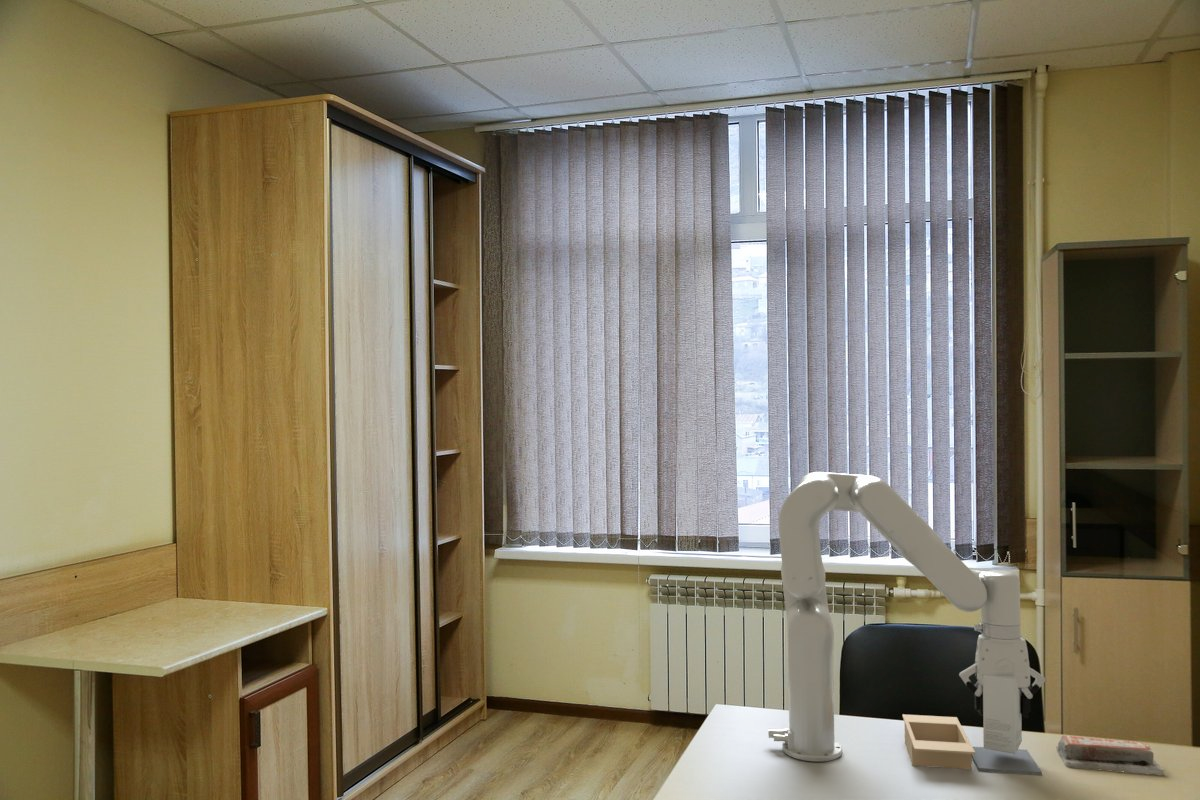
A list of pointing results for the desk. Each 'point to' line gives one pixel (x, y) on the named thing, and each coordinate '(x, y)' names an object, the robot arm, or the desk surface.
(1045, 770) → the desk surface
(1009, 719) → the skincare box
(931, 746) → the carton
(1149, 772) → the packaged product
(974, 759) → the mat
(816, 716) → the robot arm
